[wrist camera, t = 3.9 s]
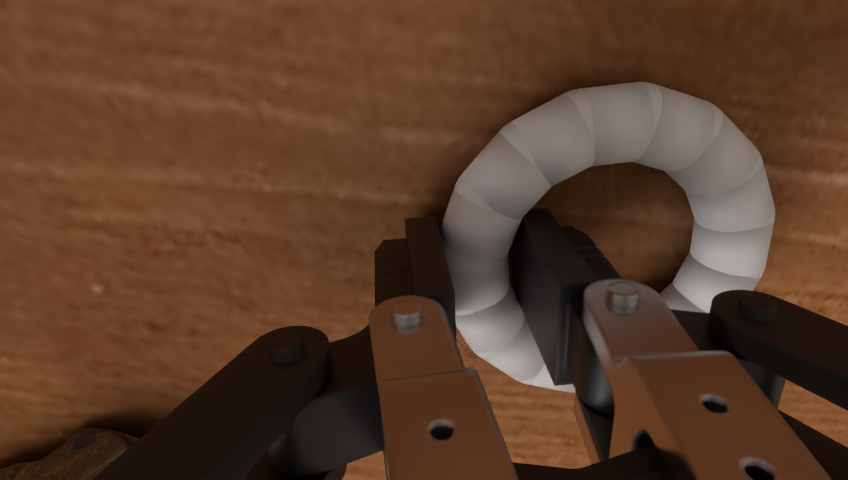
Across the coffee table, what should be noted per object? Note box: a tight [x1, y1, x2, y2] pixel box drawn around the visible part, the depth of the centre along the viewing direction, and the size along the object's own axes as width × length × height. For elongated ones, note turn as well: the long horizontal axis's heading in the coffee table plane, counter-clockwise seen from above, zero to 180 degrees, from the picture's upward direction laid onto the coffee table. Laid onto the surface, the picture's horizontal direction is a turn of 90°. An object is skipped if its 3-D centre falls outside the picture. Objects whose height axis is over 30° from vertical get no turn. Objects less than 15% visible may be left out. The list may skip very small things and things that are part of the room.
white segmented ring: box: [439, 82, 775, 393], centre depth 13 cm, size 8×8×2 cm
